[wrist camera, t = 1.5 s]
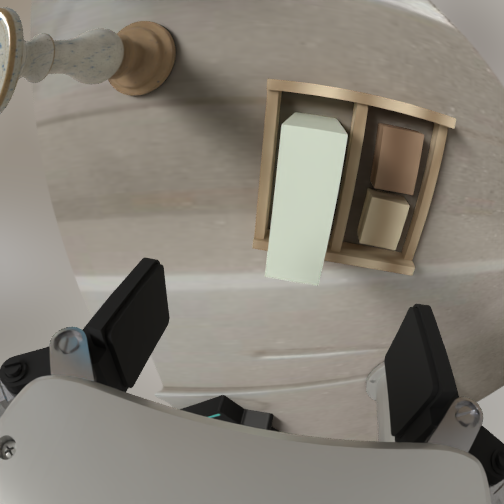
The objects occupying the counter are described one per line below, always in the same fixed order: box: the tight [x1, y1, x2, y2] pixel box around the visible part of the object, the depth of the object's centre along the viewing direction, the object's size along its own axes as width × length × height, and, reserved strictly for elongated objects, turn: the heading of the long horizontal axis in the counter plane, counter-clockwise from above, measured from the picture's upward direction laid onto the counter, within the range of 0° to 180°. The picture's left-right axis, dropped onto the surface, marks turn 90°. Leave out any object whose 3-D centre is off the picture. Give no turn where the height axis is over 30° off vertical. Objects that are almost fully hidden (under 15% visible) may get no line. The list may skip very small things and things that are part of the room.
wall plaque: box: [180, 395, 279, 432], centre depth 59 cm, size 30×4×30 cm
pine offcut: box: [357, 188, 410, 250], centre depth 30 cm, size 4×5×3 cm
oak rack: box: [253, 79, 456, 276], centre depth 28 cm, size 18×17×3 cm
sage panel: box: [265, 112, 348, 286], centre depth 25 cm, size 4×11×12 cm, turn 176°
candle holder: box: [0, 7, 176, 114], centre depth 18 cm, size 9×9×20 cm
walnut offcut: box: [370, 123, 424, 195], centre depth 26 cm, size 4×6×3 cm, turn 178°
